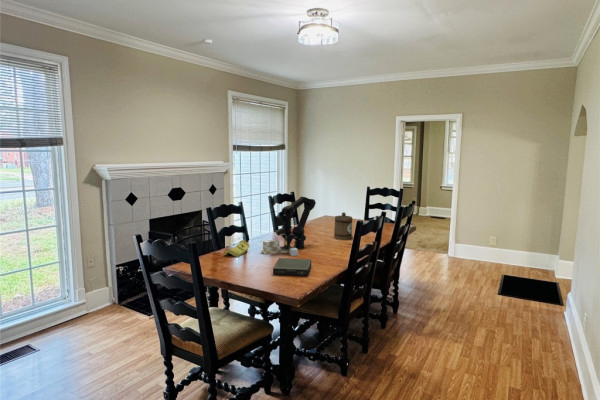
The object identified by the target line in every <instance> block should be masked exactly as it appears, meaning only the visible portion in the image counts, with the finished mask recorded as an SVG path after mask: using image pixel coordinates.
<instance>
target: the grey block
mask: <svg viewBox="0 0 600 400" xmlns="http://www.w3.org/2000/svg"><path fill="white" fill-rule="evenodd" d="M289 255H290V256H291V257H297V256H298V257H299V249H297V248H295V247H293V248H290V252H289Z"/></svg>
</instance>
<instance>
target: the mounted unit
mask: <svg viewBox="0 0 600 400" xmlns="http://www.w3.org/2000/svg"><path fill="white" fill-rule="evenodd" d="M290 248H294V246H291V245H290ZM290 248H284V245H283V246H280V240H279V239H273V240H272V239H271V240H263V241H262V250H261V252H262V254H264V255H271V254H272V255H273V254H284V253H285V254H286V253H290Z"/></svg>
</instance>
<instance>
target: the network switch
mask: <svg viewBox="0 0 600 400" xmlns="http://www.w3.org/2000/svg"><path fill="white" fill-rule="evenodd" d="M311 267H312V259H309V258H288V257H287V258H286V257H285V258H284V257H283V258H282V257H278V259H277V260H276V262H275V264H274V266H273V267H272V273H273V275H274V276H301V277H307V276H309V274H310V270H311Z"/></svg>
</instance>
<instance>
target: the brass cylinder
mask: <svg viewBox="0 0 600 400" xmlns="http://www.w3.org/2000/svg"><path fill="white" fill-rule="evenodd" d="M283 246H284V248H290V246H291V244H290V245H289V247H288V246H287V240H286V239H284V238H283Z"/></svg>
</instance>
